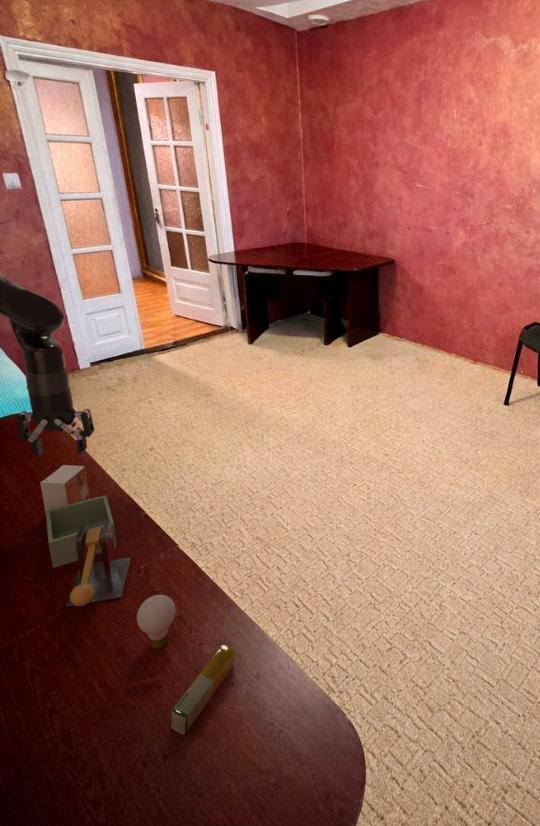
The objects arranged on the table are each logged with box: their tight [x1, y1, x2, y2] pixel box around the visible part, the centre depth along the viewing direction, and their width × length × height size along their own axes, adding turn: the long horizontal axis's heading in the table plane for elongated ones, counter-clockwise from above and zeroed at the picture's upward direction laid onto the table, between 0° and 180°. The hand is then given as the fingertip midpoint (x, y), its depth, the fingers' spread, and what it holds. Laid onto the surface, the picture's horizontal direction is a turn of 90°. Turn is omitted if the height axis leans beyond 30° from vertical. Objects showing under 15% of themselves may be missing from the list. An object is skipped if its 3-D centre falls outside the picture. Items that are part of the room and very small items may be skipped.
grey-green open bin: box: [45, 495, 118, 569], centre depth 105 cm, size 12×11×7 cm
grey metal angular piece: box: [65, 522, 132, 609], centre depth 93 cm, size 11×9×13 cm
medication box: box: [170, 644, 236, 736], centre depth 75 cm, size 12×3×4 cm, turn 162°
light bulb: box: [136, 594, 177, 650], centre depth 82 cm, size 6×6×10 cm
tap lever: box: [69, 528, 102, 607], centre depth 88 cm, size 14×4×4 cm, turn 17°
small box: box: [39, 464, 91, 513], centre depth 114 cm, size 8×6×10 cm
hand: (60, 453), depth 110 cm, fingers open, 8 cm apart
